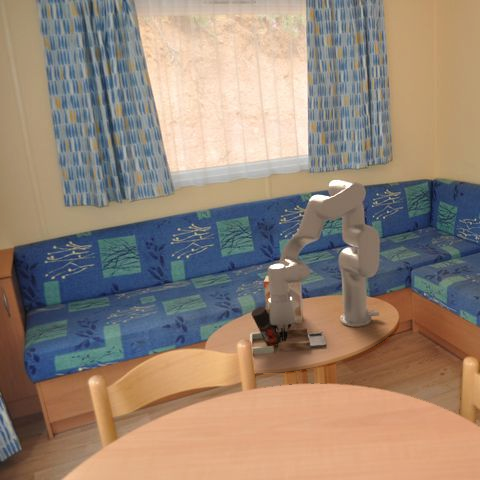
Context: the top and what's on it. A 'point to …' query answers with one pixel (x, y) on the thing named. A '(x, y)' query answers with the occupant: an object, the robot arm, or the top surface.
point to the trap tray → (316, 340)
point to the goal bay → (260, 349)
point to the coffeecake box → (297, 297)
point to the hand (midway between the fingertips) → (283, 339)
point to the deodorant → (266, 326)
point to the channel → (295, 345)
